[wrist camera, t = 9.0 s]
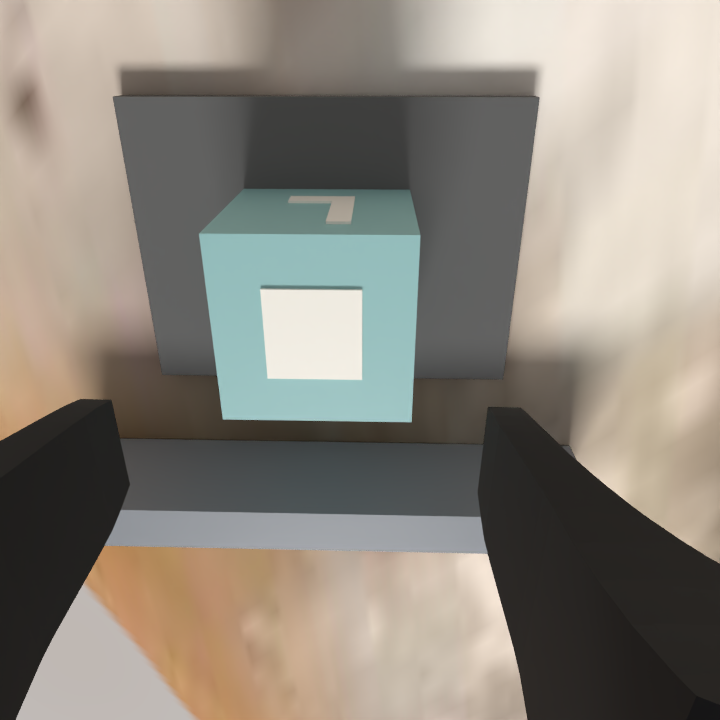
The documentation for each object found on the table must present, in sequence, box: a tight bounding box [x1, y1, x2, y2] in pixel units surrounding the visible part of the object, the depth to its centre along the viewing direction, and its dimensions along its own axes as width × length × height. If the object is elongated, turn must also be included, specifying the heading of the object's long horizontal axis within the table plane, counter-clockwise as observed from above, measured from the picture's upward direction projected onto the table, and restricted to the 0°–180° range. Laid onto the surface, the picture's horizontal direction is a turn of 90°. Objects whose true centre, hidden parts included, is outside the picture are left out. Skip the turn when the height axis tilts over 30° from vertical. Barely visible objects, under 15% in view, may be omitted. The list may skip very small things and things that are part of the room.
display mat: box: [113, 95, 539, 379], centre depth 19 cm, size 12×9×1 cm
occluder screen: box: [104, 439, 576, 554], centre depth 21 cm, size 18×2×4 cm, turn 90°
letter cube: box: [199, 189, 420, 422], centre depth 17 cm, size 5×5×5 cm
